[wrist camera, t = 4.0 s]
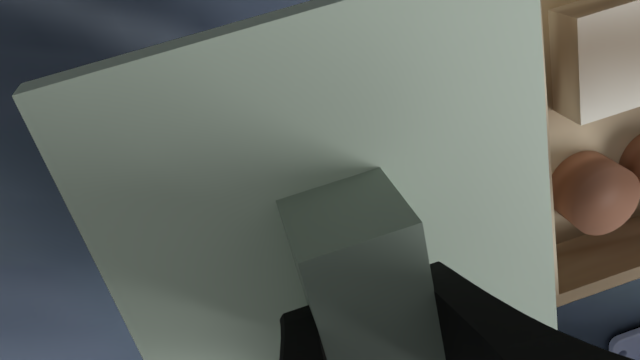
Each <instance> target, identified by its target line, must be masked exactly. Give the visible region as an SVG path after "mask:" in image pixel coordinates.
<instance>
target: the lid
mask: <svg viewBox="0 0 640 360" xmlns="http://www.w3.org/2000/svg"><path fill="white" fill-rule="evenodd" d="M12 98H13V100H14V102H15V104H16V106H17V108H18V110H19V112H20V114H21V116H22V118H23V120H24V122H25V124H26V126H27V128H28V130H29V132H30V134H31V136H32V138H33V140H34V142H35V144H36V146H37V148H38V150H39V152H40V154H41V156H42V158H43V160H44V162H45V164H46V166H47V168H48V170H49V172H50V174H51V176H52V178H53V180H54V182H55V184H56V186H57V188H58V190H59V192H60V194H61V196H62V198H63V200H64V202H65V204H66V206H67V208H68V210H69V212H70V214H71V216H72V218H73V220H74V222H75V224H76V226H77V228H78V230H79V232H80V234H81V236H82V238H83V240H84V242H85V244H86V246H87V248H88V250H89V252H90V254H91V256H92V258H93V260H94V262H95V264H96V266H97V268H98V270H99V272H100V274H101V276H102V278H103V280H104V282H105V284H106V286H107V288H108V290H109V292H110V294H111V296H112V298H113V300H114V302H115V304H116V306H117V308H118V310H119V312H120V314H121V316H122V318H123V320H124V322H125V324H126V326H127V328H128V330H129V332H130V334H131V336H132V338H133V340H134V342H135V344H136V346H137V348H138V350H139V352H140V354H141V356H142V358H143V360H279V357H280V343H281V328H280V318H281V316H282V315H283V313H286V312H289V311H292V310H295V309H298V308H301V307H304V306H307V305H309V307H310V309H311V312H312V315H313V317H314V320H315V323H316V326H317V329H318V332H319V335H320V338H321V341H322V345H323V348H324V351H325V355H326V358H327V360H446V358H445V352H444V346H443V341H442V335H441V329H440V323H439V318H438V312H437V306H436V300H435V295H434V286H433V280H432V274H431V269H430V264H432V263H435V262H438V261H439V262H441V263H443V264H445V265H446V266H448V267H449V268H451V269H452V270H454V271H455V272H457V273H458V274H460V275H461V276H463V277H464V278H466V279H467V280H469V281H470V282H472V283H473V284H475V285H477V286H478V287H480V288H481V289H483V290H484V291H486V292H488V293H489V294H491V295H493V296H494V297H496V298H498V299H500V300H501V301H503V302H505V303H506V304H508V305H510V306H512V307H513V308H515V309H517V310H519V311H520V312H522V313H524V314H526V315H528V316H530V317H532V318H534V319H536V320H538V321H540V322H542V323H543V324H545V325H547V326H549V327H552V328H554V329H556V330H558V328H557V309H556V291H555V272H554V253H553V234H552V216H551V197H550V178H549V159H548V140H547V122H546V103H545V84H544V65H543V46H542V28H541V9H540V0H311V1H308V2H304V3H301V4H297V5H294V6H290V7H287V8H283V9H280V10H276V11H272V12H269V13H265V14H262V15H258V16H255V17H251V18H248V19H244V20H241V21H237V22H234V23H230V24H227V25H223V26H220V27H216V28H213V29H209V30H206V31H202V32H199V33H195V34H192V35H188V36H185V37H181V38H178V39H174V40H171V41H167V42H164V43H160V44H157V45H153V46H150V47H146V48H143V49H139V50H136V51H132V52H129V53H125V54H122V55H118V56H115V57H111V58H108V59H104V60H101V61H97V62H94V63H90V64H87V65H83V66H80V67H76V68H73V69H69V70H66V71H62V72H59V73H55V74H52V75H48V76H45V77H41V78H38V79H34V80H31V81H27V82H24V83H21V84H20V85H19V87H18V88H17V89H16V91H15V92H14V93H13V95H12Z"/></svg>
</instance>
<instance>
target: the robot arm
mask: <svg viewBox="0 0 640 360" xmlns="http://www.w3.org/2000/svg"><path fill="white" fill-rule="evenodd" d="M430 269H431V274H432V280H433V286H434V295H435V300H436V306H437V312H438V318H439V323H440V329H441V335H442V341H443V346H444V352H445V358H446V360H640V327H639V328H636V329H634V330H631V331H628V332H625V333H623V334H620V335H617V336H615V337H614V338H612V339H611V341H610V343H609V351H608V350H605V349H602V348H599V347H597V346H594V345H591V344H589V343H586V342H584V341H582V340H579V339H577V338H574V337H572V336H570V335H567V334H565V333H562V332H560V331H558V330H556V329H554V328H552V327H549V326H547V325H545V324H543V323H542V322H540V321H538V320H536V319H534V318H532V317H530V316H528V315H526V314H524V313H522V312H520V311H519V310H517V309H515V308H513V307H512V306H510V305H508V304H506V303H505V302H503V301H501V300H500V299H498V298H496V297H494V296H493V295H491V294H489V293H488V292H486V291H484V290H483V289H481V288H480V287H478V286H477V285H475V284H473V283H472V282H470V281H469V280H467V279H466V278H464V277H463V276H461V275H460V274H458V273H457V272H455V271H454V270H452V269H451V268H449V267H448V266H446V265H445V264H443V263H441V262H439V261H438V262H435V263H432V264H430ZM280 328H281V343H280V357H279V360H327V358H326V355H325V351H324V348H323V345H322V341H321V338H320V335H319V332H318V329H317V326H316V323H315V320H314V317H313V315H312V312H311V309H310V307H309V305H307V306H304V307H301V308H298V309H295V310H292V311H289V312H286V313H283V315H282V316H281V318H280Z"/></svg>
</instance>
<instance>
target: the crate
mask: <svg viewBox="0 0 640 360" xmlns="http://www.w3.org/2000/svg"><path fill="white" fill-rule="evenodd" d="M540 9H541V28H542V46H543V65H544V84H545V103H546V122H547V140H548V159H549V178H550V197H551V216H552V234H553V253H554V272H555V291H556V307H559V306H562V305H565V304H568V303H570V302H573V301H576V300H579V299H582V298H585V297H587V296H590V295H593V294H596V293H599V292H602V291H604V290H607V289H610V288H613V287H616V286H619V285H621V284H624V283H627V282H630V281H633V280H636V279H638V278H640V0H540Z"/></svg>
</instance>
